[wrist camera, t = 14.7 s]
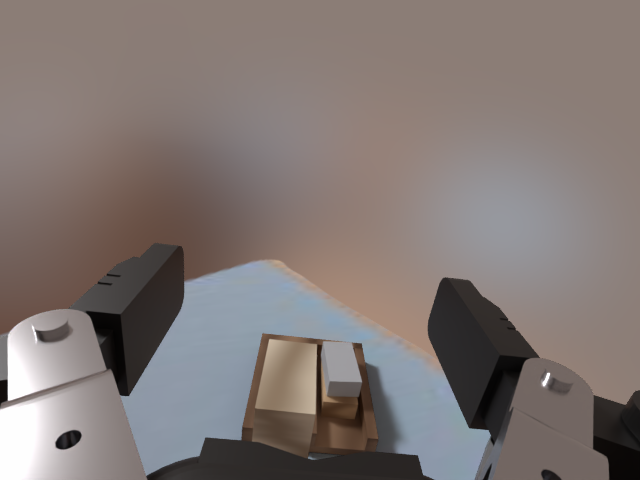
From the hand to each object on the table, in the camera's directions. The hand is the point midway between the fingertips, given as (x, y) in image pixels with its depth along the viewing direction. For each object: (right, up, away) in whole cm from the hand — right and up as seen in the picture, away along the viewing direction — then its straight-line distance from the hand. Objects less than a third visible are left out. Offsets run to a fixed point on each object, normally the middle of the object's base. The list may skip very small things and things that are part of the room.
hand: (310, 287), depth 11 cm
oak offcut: (+2, -19, +37) cm, 41 cm away
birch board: (-4, -25, +23) cm, 34 cm away
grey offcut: (+3, -16, +36) cm, 40 cm away
